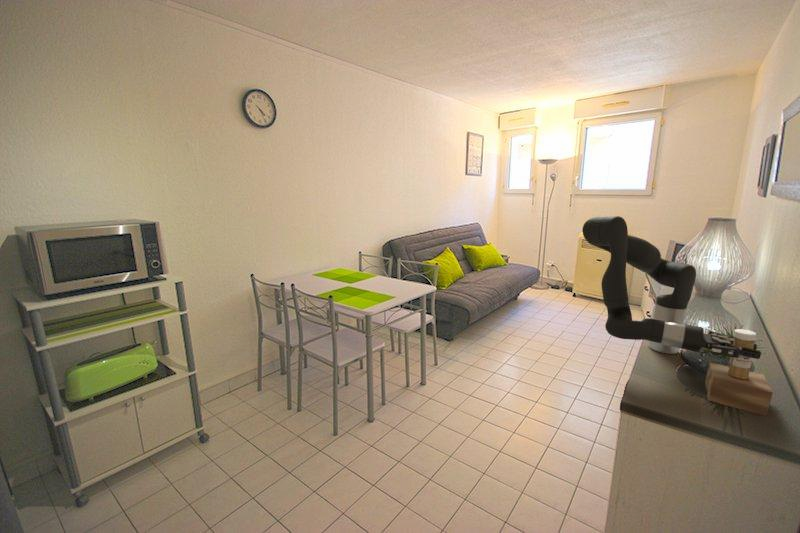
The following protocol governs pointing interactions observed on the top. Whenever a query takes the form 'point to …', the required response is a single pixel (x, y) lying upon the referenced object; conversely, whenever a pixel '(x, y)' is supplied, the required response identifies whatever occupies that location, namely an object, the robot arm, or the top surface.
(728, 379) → the block
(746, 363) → the sprinkles bottle
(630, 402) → the top surface
